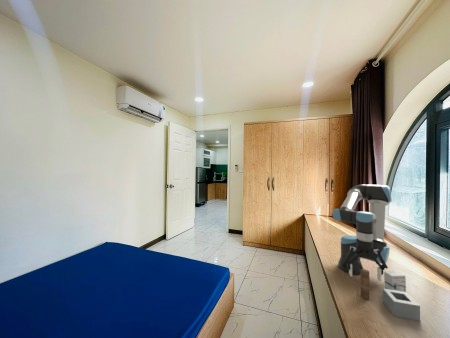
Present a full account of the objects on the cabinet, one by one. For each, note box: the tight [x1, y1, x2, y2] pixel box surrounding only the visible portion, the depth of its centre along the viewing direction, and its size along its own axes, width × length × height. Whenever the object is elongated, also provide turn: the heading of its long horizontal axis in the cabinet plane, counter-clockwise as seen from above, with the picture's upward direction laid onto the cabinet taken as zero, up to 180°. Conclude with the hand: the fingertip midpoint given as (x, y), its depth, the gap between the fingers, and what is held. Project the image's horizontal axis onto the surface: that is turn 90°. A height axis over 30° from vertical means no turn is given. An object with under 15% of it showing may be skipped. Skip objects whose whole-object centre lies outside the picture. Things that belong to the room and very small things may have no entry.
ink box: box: [383, 270, 407, 292], centre depth 104 cm, size 9×5×12 cm, turn 92°
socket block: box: [382, 287, 421, 322], centre depth 91 cm, size 10×10×7 cm
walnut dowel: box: [359, 268, 371, 301], centre depth 101 cm, size 4×4×15 cm
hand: (364, 277), depth 101 cm, fingers open, 13 cm apart
